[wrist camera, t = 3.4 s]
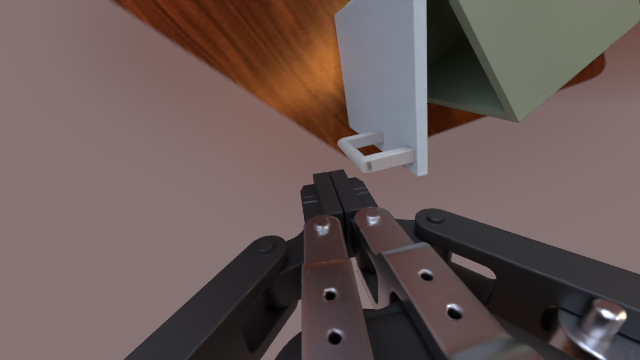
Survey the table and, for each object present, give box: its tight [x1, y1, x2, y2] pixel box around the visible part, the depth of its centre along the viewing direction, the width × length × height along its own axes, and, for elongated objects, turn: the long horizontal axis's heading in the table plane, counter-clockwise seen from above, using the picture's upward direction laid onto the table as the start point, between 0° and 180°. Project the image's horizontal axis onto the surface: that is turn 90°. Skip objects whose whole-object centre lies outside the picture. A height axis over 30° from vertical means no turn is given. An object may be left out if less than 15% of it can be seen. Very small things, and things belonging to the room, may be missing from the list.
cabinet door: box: [334, 0, 428, 177], centre depth 30 cm, size 6×16×22 cm, turn 11°
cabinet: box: [346, 0, 640, 123], centre depth 29 cm, size 12×16×22 cm
